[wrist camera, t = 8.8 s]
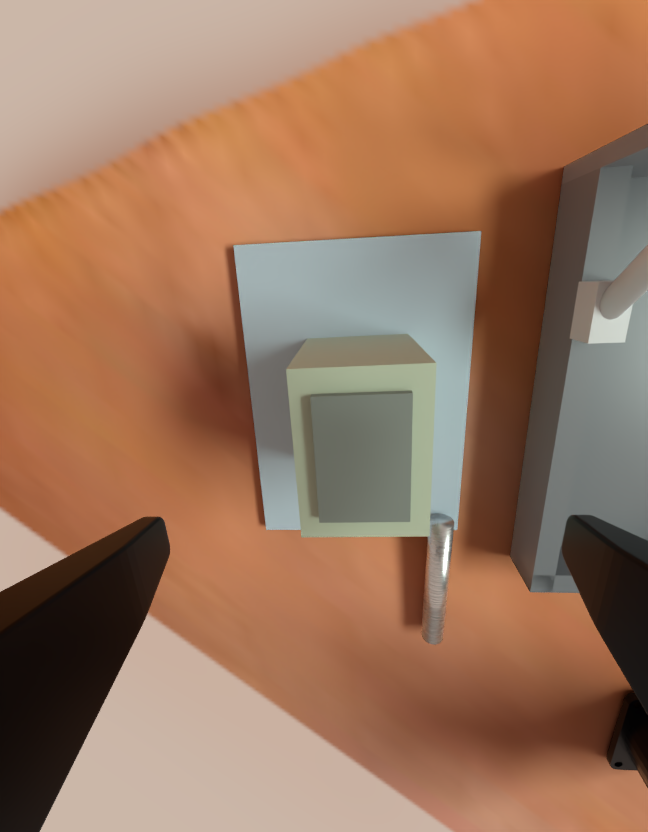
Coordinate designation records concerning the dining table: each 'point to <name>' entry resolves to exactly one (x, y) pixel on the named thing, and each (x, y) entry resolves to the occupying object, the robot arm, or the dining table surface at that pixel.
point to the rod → (437, 577)
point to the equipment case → (590, 366)
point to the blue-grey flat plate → (357, 316)
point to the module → (363, 435)
